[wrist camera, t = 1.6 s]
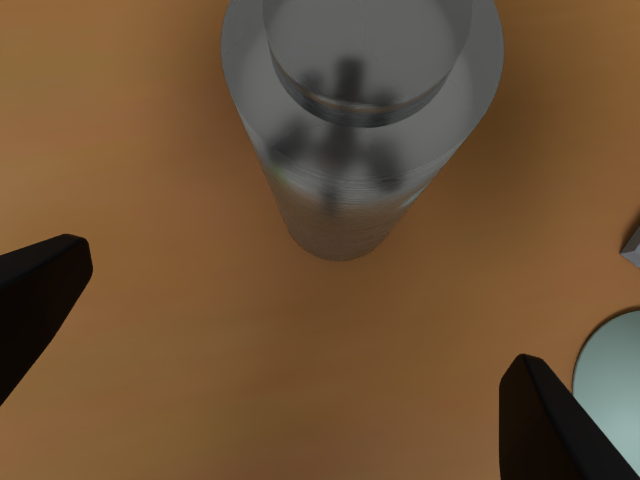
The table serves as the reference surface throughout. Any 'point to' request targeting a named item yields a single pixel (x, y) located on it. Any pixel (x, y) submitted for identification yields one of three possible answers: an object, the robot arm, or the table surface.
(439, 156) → the canister
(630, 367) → the pale green disc
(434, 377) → the table surface
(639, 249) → the shaft stand
